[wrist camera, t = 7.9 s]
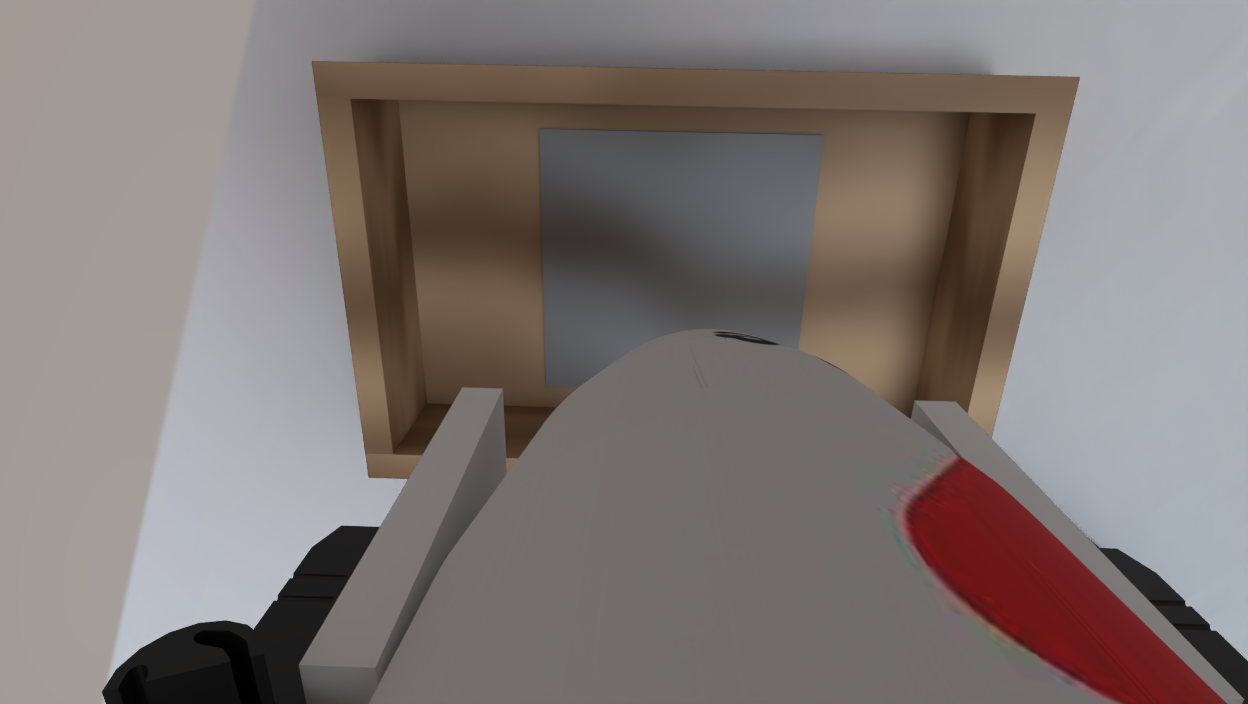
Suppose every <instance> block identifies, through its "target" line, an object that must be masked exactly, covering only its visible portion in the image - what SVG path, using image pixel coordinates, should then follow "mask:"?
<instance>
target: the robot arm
mask: <svg viewBox="0 0 1248 704" xmlns="http://www.w3.org/2000/svg"><path fill="white" fill-rule="evenodd" d="M911 420H912V421H914V422H915V423H916V424H918V425H919V426H921V427H922V428H923V429H925V430H926V431H927V432H929V433H930V434H931V435H933V436H934V437H936V438H937V439H938V440H940V441H941V442H942V443H944V444H945V445H946V446H948V447H949V448H951V449H952V450H953V451H955V452H956V453H957V454H959V455H960V456H961V457H963V458H964V459H966V460H967V461H968V462H970V463H971V464H972V465H974V466H975V467H976V468H978V469H979V470H981V471H982V472H983V473H985V474H986V475H987V476H989V477H990V478H991V479H993V480H994V481H995V482H997V483H998V484H999V485H1001V486H1002V487H1003V488H1005V489H1006V490H1007V491H1008V492H1009V493H1010V494H1012V495H1013V496H1014V497H1015V498H1016V499H1017V500H1018V501H1019V502H1020V503H1021V504H1022V505H1023V506H1025V507H1026V508H1027V509H1028V510H1029V511H1030V512H1031V513H1032V514H1033V515H1034V516H1035V517H1036V518H1037V519H1038V520H1039V521H1040V522H1041V523H1042V524H1043V525H1044V526H1045V527H1046V528H1047V529H1048V530H1049V531H1050V532H1051V533H1052V534H1053V535H1054V536H1055V537H1056V538H1057V539H1058V540H1059V541H1060V542H1062V543H1063V544H1064V545H1065V546H1066V547H1067V548H1068V549H1069V550H1070V551H1071V552H1072V553H1073V554H1074V555H1075V556H1076V557H1077V558H1078V559H1079V560H1080V561H1081V562H1082V563H1083V564H1084V565H1085V566H1086V567H1087V568H1088V569H1089V570H1090V571H1091V572H1092V573H1093V574H1094V575H1095V576H1096V577H1097V578H1099V579H1100V580H1101V581H1102V582H1103V583H1104V584H1105V585H1106V586H1107V587H1108V588H1109V589H1110V590H1111V591H1112V592H1113V593H1114V594H1115V595H1116V596H1117V597H1118V598H1119V599H1120V600H1121V601H1122V602H1123V603H1124V604H1125V605H1126V606H1127V607H1128V608H1129V609H1130V610H1131V611H1132V612H1133V613H1134V614H1136V615H1137V616H1138V617H1139V618H1140V619H1141V620H1142V621H1143V622H1144V623H1145V624H1146V625H1147V626H1148V627H1149V628H1150V629H1151V630H1152V631H1153V632H1154V633H1155V634H1156V635H1157V636H1158V637H1159V638H1160V639H1161V640H1162V641H1163V642H1164V643H1165V644H1166V645H1167V646H1168V647H1169V648H1170V649H1171V650H1173V651H1174V652H1175V653H1176V654H1177V655H1178V656H1179V657H1180V658H1181V659H1182V660H1183V661H1184V662H1185V663H1186V664H1187V665H1188V666H1189V667H1190V668H1191V669H1192V670H1193V671H1194V672H1195V673H1196V674H1197V675H1198V676H1199V677H1200V678H1201V679H1202V680H1203V681H1204V682H1205V683H1206V684H1207V685H1208V686H1210V687H1211V688H1212V689H1213V690H1214V691H1215V692H1216V693H1217V694H1218V695H1219V696H1220V697H1221V698H1222V699H1223V700H1224V701H1225V702H1226V703H1227V704H1248V661H1247V660H1246V659H1245V658H1244V657H1243V656H1242V655H1241V654H1240V653H1239V652H1238V651H1237V650H1236V649H1235V648H1234V647H1232V646H1231V645H1230V644H1229V643H1228V642H1227V641H1226V640H1225V639H1224V638H1223V637H1222V636H1221V635H1220V634H1219V633H1218V632H1217V631H1211V629H1210V624H1209V623H1208V622H1207V621H1205V620H1204V619H1203V618H1202V617H1201V616H1200V615H1199V614H1198V613H1197V612H1196V611H1195V610H1194V609H1193V608H1192V607H1187V606H1186V605H1185V600H1184V599H1183V598H1182V597H1181V596H1179V595H1178V594H1177V593H1176V592H1175V591H1174V590H1173V589H1172V588H1171V587H1170V586H1169V585H1168V584H1167V583H1166V582H1165V581H1164V580H1163V579H1162V578H1161V577H1160V576H1159V575H1158V574H1157V573H1155V572H1154V571H1152V570H1151V569H1149V568H1147V567H1146V566H1144V565H1142V564H1141V563H1139V562H1138V561H1136V560H1134V559H1133V558H1131V557H1130V556H1128V555H1126V554H1125V553H1123V552H1121V551H1120V550H1118V549H1111V548H1097V547H1096V546H1095V545H1094V544H1093V543H1092V542H1091V541H1090V540H1089V539H1088V538H1087V537H1086V536H1085V534H1084V533H1083V532H1082V531H1081V530H1080V529H1079V528H1078V527H1077V526H1076V525H1075V524H1074V523H1073V522H1072V521H1071V520H1070V519H1069V518H1068V517H1067V516H1066V515H1065V514H1064V513H1063V512H1062V511H1061V510H1060V509H1059V508H1058V507H1057V506H1056V505H1055V504H1054V503H1053V501H1052V500H1051V499H1050V498H1049V497H1048V496H1047V495H1046V494H1045V493H1044V492H1043V491H1042V490H1041V489H1040V488H1039V487H1038V486H1037V485H1036V484H1035V483H1034V482H1033V481H1032V480H1031V479H1030V478H1029V477H1028V476H1027V475H1026V474H1025V473H1024V472H1023V471H1022V470H1021V468H1020V467H1019V466H1018V465H1017V464H1016V463H1015V462H1014V461H1013V460H1012V459H1011V458H1010V457H1009V456H1008V455H1007V454H1006V453H1005V452H1004V451H1003V450H1002V449H1001V448H1000V447H999V446H998V445H997V444H996V443H995V442H994V441H993V440H992V439H991V438H990V436H989V435H988V434H987V433H986V432H985V431H984V430H983V429H982V428H981V427H980V426H979V425H978V424H977V423H976V422H975V421H974V420H973V419H972V418H971V417H970V416H969V415H968V414H967V413H966V412H965V411H964V410H963V409H962V408H961V407H960V406H959V405H958V403H957V402H950V401H916V400H914V405H913V410H912V416H911ZM506 475H507V463H506V443H505V423H504V403H503V389H500V388H466V387H462V389H461V391H460V392H459V394H458V396H457V397H456V399H455V401H454V403H453V404H452V406H451V408H450V409H449V411H448V413H447V414H446V416H445V418H444V419H443V421H442V423H441V425H440V426H439V428H438V430H437V431H436V433H435V435H434V436H433V438H432V440H431V441H430V443H429V445H428V447H427V448H426V450H425V452H424V453H423V455H422V457H421V458H420V460H419V462H418V464H417V465H416V467H415V469H414V470H413V472H412V474H411V475H410V477H409V479H408V480H407V482H406V484H405V486H404V487H403V489H402V491H401V492H400V494H399V496H398V497H397V499H396V501H395V502H394V504H393V506H392V508H391V509H390V511H389V513H388V514H387V516H386V518H385V519H384V521H383V523H382V525H381V526H380V527H364V526H340V527H339V528H338V529H336V530H335V531H334V532H332V533H331V534H330V535H328V536H327V537H325V538H324V539H323V540H321V541H320V542H319V543H317V544H316V545H314V546H313V547H312V548H311V549H310V551H309V552H308V554H307V555H306V556H305V558H304V559H303V561H302V562H301V563H300V565H299V566H298V568H297V569H296V571H295V572H294V576H293V579H289V580H288V582H287V583H286V585H285V586H284V587H283V589H282V590H281V592H280V593H279V594H278V600H277V601H273V603H272V604H271V606H270V607H269V609H268V610H267V611H266V613H265V614H264V616H263V617H262V618H261V620H260V621H259V623H258V624H257V625H256V627H255V628H254V630H253V629H252V628H251V627H249V626H248V625H245V624H241V623H236V622H231V621H215V622H205V623H198V624H195V625H191V626H188V627H185V628H182V629H179V630H176V631H173V632H170V633H168V634H166V635H164V636H162V637H161V638H159V639H157V640H155V641H153V642H152V643H150V644H148V645H146V646H144V647H143V648H141V649H139V650H138V651H137V652H136V653H135V654H134V655H132V656H131V657H130V658H129V659H128V660H127V661H126V662H124V663H123V664H122V665H121V666H120V667H119V668H117V669H116V671H115V672H114V674H113V675H112V677H111V679H110V680H109V682H108V683H107V685H106V686H105V688H104V689H103V691H102V693H103V696H104V699H105V702H106V704H369V702H370V700H371V698H372V696H373V694H374V692H375V690H376V689H377V687H378V685H379V683H380V681H381V679H382V677H383V675H384V673H385V671H386V670H387V668H388V666H389V664H390V662H391V660H392V658H393V656H394V654H395V652H396V651H397V649H398V647H399V645H400V643H401V641H402V639H403V637H404V635H405V633H406V631H407V630H408V628H409V626H410V624H411V622H412V620H413V618H414V616H415V614H416V612H417V611H418V609H419V607H420V605H421V603H422V601H423V599H424V597H425V595H426V593H427V592H428V590H429V588H430V586H431V584H432V582H433V580H434V578H435V576H436V575H437V573H438V571H439V569H440V567H441V566H442V564H443V563H444V561H445V559H446V558H447V556H448V555H449V553H450V552H451V550H452V549H453V548H454V546H455V545H456V543H457V542H458V541H459V539H460V538H461V537H462V535H463V534H464V532H465V531H466V530H467V528H468V527H469V526H470V524H471V523H472V521H473V520H474V519H475V517H476V516H477V515H478V513H479V512H480V510H481V509H482V508H483V506H484V505H485V504H486V502H487V501H488V499H489V498H490V497H491V495H492V494H493V493H494V491H495V490H496V488H497V487H498V486H499V484H500V483H501V482H502V480H503V479H504V477H505V476H506Z"/></svg>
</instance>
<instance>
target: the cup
mask: <svg viewBox="0 0 1248 704" xmlns="http://www.w3.org/2000/svg"><path fill="white" fill-rule="evenodd" d="M369 704H1227V703H1226V702H1225V701H1224V700H1223V699H1222V698H1221V697H1220V696H1219V695H1218V694H1217V693H1216V692H1215V691H1214V690H1213V689H1212V688H1211V687H1210V686H1208V685H1207V684H1206V683H1205V682H1204V681H1203V680H1202V679H1201V678H1200V677H1199V676H1198V675H1197V674H1196V673H1195V672H1194V671H1193V670H1192V669H1191V668H1190V667H1189V666H1188V665H1187V664H1186V663H1185V662H1184V661H1183V660H1182V659H1181V658H1180V657H1179V656H1178V655H1177V654H1176V653H1175V652H1174V651H1173V650H1171V649H1170V648H1169V647H1168V646H1167V645H1166V644H1165V643H1164V642H1163V641H1162V640H1161V639H1160V638H1159V637H1158V636H1157V635H1156V634H1155V633H1154V632H1153V631H1152V630H1151V629H1150V628H1149V627H1148V626H1147V625H1146V624H1145V623H1144V622H1143V621H1142V620H1141V619H1140V618H1139V617H1138V616H1137V615H1136V614H1134V613H1133V612H1132V611H1131V610H1130V609H1129V608H1128V607H1127V606H1126V605H1125V604H1124V603H1123V602H1122V601H1121V600H1120V599H1119V598H1118V597H1117V596H1116V595H1115V594H1114V593H1113V592H1112V591H1111V590H1110V589H1109V588H1108V587H1107V586H1106V585H1105V584H1104V583H1103V582H1102V581H1101V580H1100V579H1099V578H1097V577H1096V576H1095V575H1094V574H1093V573H1092V572H1091V571H1090V570H1089V569H1088V568H1087V567H1086V566H1085V565H1084V564H1083V563H1082V562H1081V561H1080V560H1079V559H1078V558H1077V557H1076V556H1075V555H1074V554H1073V553H1072V552H1071V551H1070V550H1069V549H1068V548H1067V547H1066V546H1065V545H1064V544H1063V543H1062V542H1060V541H1059V540H1058V539H1057V538H1056V537H1055V536H1054V535H1053V534H1052V533H1051V532H1050V531H1049V530H1048V529H1047V528H1046V527H1045V526H1044V525H1043V524H1042V523H1041V522H1040V521H1039V520H1038V519H1037V518H1036V517H1035V516H1034V515H1033V514H1032V513H1031V512H1030V511H1029V510H1028V509H1027V508H1026V507H1025V506H1023V505H1022V504H1021V503H1020V502H1019V501H1018V500H1017V499H1016V498H1015V497H1014V496H1013V495H1012V494H1010V493H1009V492H1008V491H1007V490H1006V489H1005V488H1003V487H1002V486H1001V485H999V484H998V483H997V482H995V481H994V480H993V479H991V478H990V477H989V476H987V475H986V474H985V473H983V472H982V471H981V470H979V469H978V468H976V467H975V466H974V465H972V464H971V463H970V462H968V461H967V460H966V459H964V458H963V457H961V456H960V455H959V454H957V453H956V452H955V451H953V450H952V449H951V448H949V447H948V446H946V445H945V444H944V443H942V442H941V441H940V440H938V439H937V438H936V437H934V436H933V435H931V434H930V433H929V432H927V431H926V430H925V429H923V428H922V427H921V426H919V425H918V424H916V423H915V422H914V421H912V420H911V419H910V418H908V417H907V416H906V415H904V414H903V413H901V412H900V411H899V410H897V409H896V408H895V407H893V406H892V405H890V404H889V403H888V402H886V401H885V400H884V399H882V398H881V397H880V396H878V395H877V394H875V393H874V392H873V391H871V390H870V389H869V388H867V387H866V386H865V385H863V384H862V383H860V382H859V381H858V380H856V379H855V378H854V377H852V376H851V375H849V374H848V373H846V372H844V371H843V370H841V369H840V368H838V367H836V366H834V365H832V364H830V363H829V362H826V361H824V360H822V359H820V358H818V357H816V356H813V355H811V354H808V353H805V352H803V351H800V350H797V349H793V348H790V347H787V346H784V345H781V344H777V343H774V342H771V341H768V340H765V339H761V338H758V337H755V336H752V335H748V334H745V333H741V332H736V331H730V330H721V329H695V330H687V331H681V332H676V333H672V334H668V335H665V336H661V337H659V338H656V339H653V340H651V341H648V342H646V343H644V344H642V345H640V346H638V347H637V348H635V349H633V350H631V351H630V352H628V353H627V354H625V355H624V356H622V357H621V358H620V359H618V360H617V361H615V362H614V363H612V364H611V365H609V366H608V367H606V368H605V369H604V370H602V371H601V372H599V373H598V374H596V375H595V376H593V377H592V378H591V379H589V380H588V381H586V382H585V383H584V384H582V385H581V386H580V387H578V388H577V389H576V390H575V391H574V392H572V393H571V394H570V395H569V396H568V397H567V398H566V399H565V400H564V401H563V402H562V403H561V404H560V405H559V406H558V407H557V408H556V409H555V410H554V411H553V412H552V414H551V415H550V416H549V417H548V419H547V420H546V421H545V422H544V424H543V425H542V427H541V428H540V429H539V431H538V432H537V433H536V435H535V436H534V438H533V439H532V440H531V442H530V443H529V444H528V446H527V447H526V449H525V450H524V451H523V453H522V454H521V455H520V457H519V458H518V460H517V461H516V462H515V464H514V465H513V466H512V468H511V469H510V471H509V472H508V473H507V475H506V476H505V477H504V479H503V480H502V482H501V483H500V484H499V486H498V487H497V488H496V490H495V491H494V493H493V494H492V495H491V497H490V498H489V499H488V501H487V502H486V504H485V505H484V506H483V508H482V509H481V510H480V512H479V513H478V515H477V516H476V517H475V519H474V520H473V521H472V523H471V524H470V526H469V527H468V528H467V530H466V531H465V532H464V534H463V535H462V537H461V538H460V539H459V541H458V542H457V543H456V545H455V546H454V548H453V549H452V550H451V552H450V553H449V555H448V556H447V558H446V559H445V561H444V563H443V564H442V566H441V567H440V569H439V571H438V573H437V575H436V576H435V578H434V580H433V582H432V584H431V586H430V588H429V590H428V592H427V593H426V595H425V597H424V599H423V601H422V603H421V605H420V607H419V609H418V611H417V612H416V614H415V616H414V618H413V620H412V622H411V624H410V626H409V628H408V630H407V631H406V633H405V635H404V637H403V639H402V641H401V643H400V645H399V647H398V649H397V651H396V652H395V654H394V656H393V658H392V660H391V662H390V664H389V666H388V668H387V670H386V671H385V673H384V675H383V677H382V679H381V681H380V683H379V685H378V687H377V689H376V690H375V692H374V694H373V696H372V698H371V700H370V702H369Z"/></svg>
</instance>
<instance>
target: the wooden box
mask: <svg viewBox="0 0 1248 704" xmlns="http://www.w3.org/2000/svg"><path fill="white" fill-rule="evenodd" d="M312 67H313V74H314V82H315V89H316V96H317V103H318V111H319V118H320V125H321V133H322V140H323V147H324V155H325V162H326V169H327V177H328V184H329V191H330V199H331V206H332V213H333V221H334V228H335V235H336V243H337V250H338V257H339V265H340V272H341V279H342V286H343V294H344V301H345V308H346V316H347V323H348V330H349V338H350V345H351V352H352V360H353V367H354V374H355V382H356V389H357V396H358V404H359V411H360V418H361V426H362V433H363V440H364V448H365V455H366V462H367V469H368V477H369V478H396V479H409V477H410V475H411V474H412V472H413V470H414V469H415V467H416V465H417V464H418V462H419V460H420V458H421V457H422V455H423V453H424V452H425V450H426V448H427V447H428V445H429V443H430V441H431V440H432V438H433V436H434V435H435V433H436V431H437V430H438V428H439V426H440V425H441V423H442V421H443V419H444V418H445V416H446V414H447V413H448V411H449V409H450V408H451V406H452V404H453V403H454V401H455V399H456V397H457V396H458V394H459V392H460V391H461V389H462V387H466V388H500V389H503V403H504V423H505V443H506V463H507V473H508V472H509V471H510V469H511V468H512V466H513V465H514V464H515V462H516V461H517V460H518V458H519V457H520V455H521V454H522V453H523V451H524V450H525V449H526V447H527V446H528V444H529V443H530V442H531V440H532V439H533V438H534V436H535V435H536V433H537V432H538V431H539V429H540V428H541V427H542V425H543V424H544V422H545V421H546V420H547V419H548V417H549V416H550V415H551V414H552V412H553V411H554V410H555V409H556V408H557V407H558V406H559V405H560V404H561V403H562V402H563V401H564V400H565V399H566V398H567V397H568V396H569V395H570V394H571V393H572V392H574V391H575V390H576V389H577V388H578V387H580V386H581V385H582V384H584V383H585V382H586V381H588V380H589V379H591V378H592V377H593V376H595V375H596V374H598V373H599V372H601V371H602V370H604V369H605V368H606V367H608V366H609V365H611V364H612V363H614V362H615V361H617V360H618V359H620V358H621V357H622V356H624V355H625V354H627V353H628V352H630V351H631V350H633V349H635V348H637V347H638V346H640V345H642V344H644V343H646V342H648V341H651V340H653V339H656V338H659V337H661V336H665V335H668V334H672V333H676V332H681V331H687V330H695V329H721V330H730V331H736V332H741V333H745V334H748V335H752V336H755V337H758V338H761V339H765V340H768V341H771V342H774V343H777V344H781V345H784V346H787V347H790V348H793V349H797V350H800V351H803V352H805V353H808V354H811V355H813V356H816V357H818V358H820V359H822V360H824V361H826V362H829V363H830V364H832V365H834V366H836V367H838V368H840V369H841V370H843V371H844V372H846V373H848V374H849V375H851V376H852V377H854V378H855V379H856V380H858V381H859V382H860V383H862V384H863V385H865V386H866V387H867V388H869V389H870V390H871V391H873V392H874V393H875V394H877V395H878V396H880V397H881V398H882V399H884V400H885V401H886V402H888V403H889V404H890V405H892V406H893V407H895V408H896V409H897V410H899V411H900V412H901V413H903V414H904V415H906V416H907V417H908V418H910V419H911V416H912V410H913V405H914V400H916V401H950V402H957V403H958V405H959V406H960V407H961V408H962V409H963V410H964V411H965V412H966V413H967V414H968V415H969V416H970V417H971V418H972V419H973V420H974V421H975V422H976V423H977V424H978V425H979V426H980V427H981V428H982V429H983V430H984V431H985V432H986V433H987V434H988V435H989V436H990V438H992V434H993V430H994V426H995V422H996V418H997V414H998V410H999V406H1000V401H1001V397H1002V393H1003V389H1004V385H1005V381H1006V377H1007V373H1008V369H1009V365H1010V361H1011V357H1012V353H1013V348H1014V344H1015V340H1016V336H1017V332H1018V328H1019V324H1020V320H1021V316H1022V312H1023V308H1024V304H1025V300H1026V296H1027V291H1028V287H1029V283H1030V279H1031V275H1032V271H1033V267H1034V263H1035V259H1036V255H1037V251H1038V247H1039V243H1040V238H1041V234H1042V230H1043V226H1044V222H1045V218H1046V214H1047V210H1048V206H1049V202H1050V198H1051V194H1052V190H1053V185H1054V181H1055V177H1056V173H1057V169H1058V165H1059V161H1060V157H1061V153H1062V149H1063V145H1064V141H1065V137H1066V133H1067V128H1068V124H1069V120H1070V116H1071V112H1072V108H1073V104H1074V100H1075V96H1076V92H1077V88H1078V84H1079V80H1080V77H1059V76H1010V75H961V74H913V73H864V72H815V71H766V70H718V69H669V68H620V67H572V66H523V65H474V64H426V63H377V62H328V61H312Z"/></svg>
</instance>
